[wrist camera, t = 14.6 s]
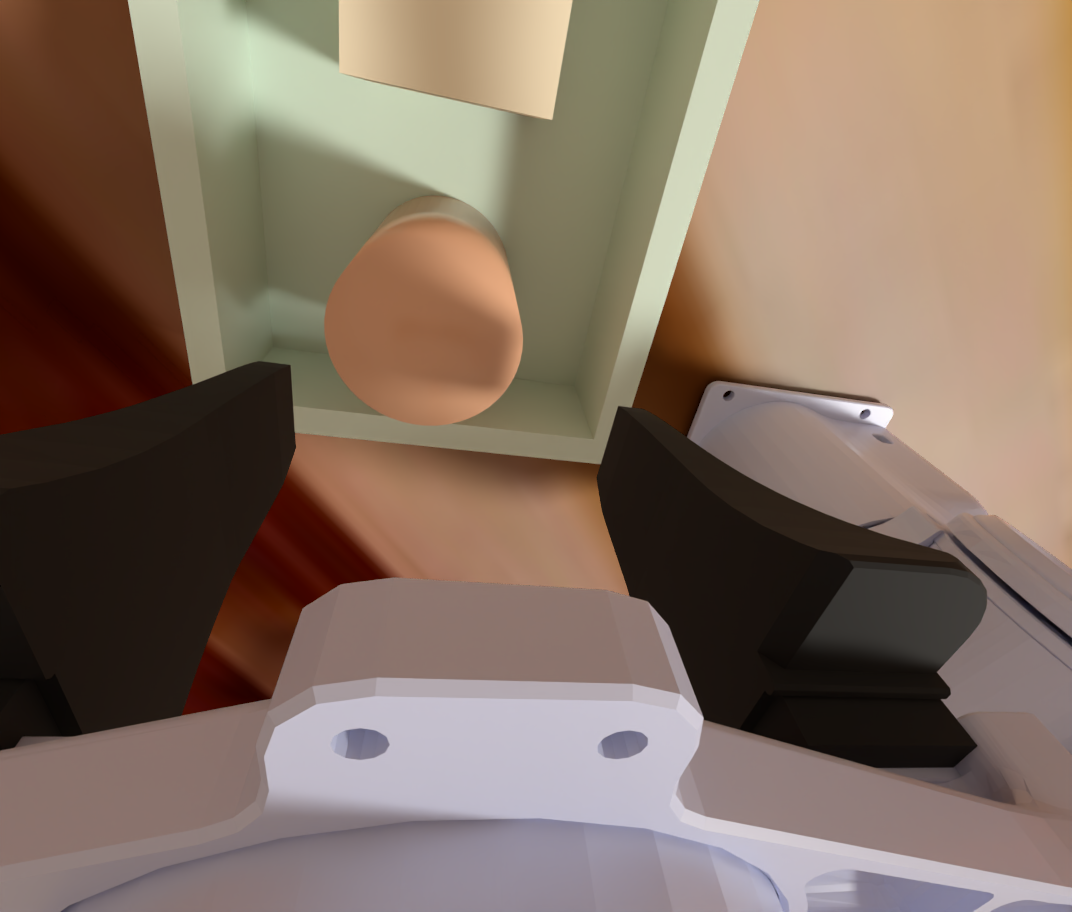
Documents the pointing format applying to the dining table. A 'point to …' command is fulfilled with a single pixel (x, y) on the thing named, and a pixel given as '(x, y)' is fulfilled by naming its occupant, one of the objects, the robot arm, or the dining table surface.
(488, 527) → the dining table surface
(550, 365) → the tote
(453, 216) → the terracotta capsule
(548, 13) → the birch cube
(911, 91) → the dining table surface
